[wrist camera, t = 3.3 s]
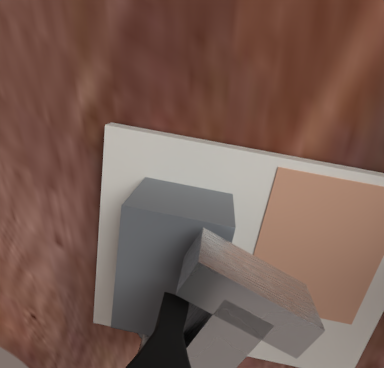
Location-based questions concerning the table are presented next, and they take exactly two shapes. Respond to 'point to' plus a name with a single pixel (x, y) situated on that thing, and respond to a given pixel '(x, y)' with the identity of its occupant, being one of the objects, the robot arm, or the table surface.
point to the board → (266, 227)
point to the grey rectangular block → (161, 245)
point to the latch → (240, 305)
